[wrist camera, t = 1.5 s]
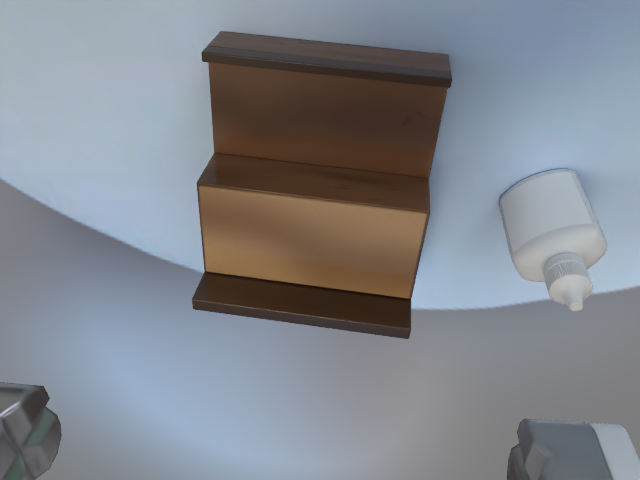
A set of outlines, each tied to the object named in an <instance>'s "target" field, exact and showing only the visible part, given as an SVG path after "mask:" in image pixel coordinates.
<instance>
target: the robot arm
mask: <svg viewBox="0 0 640 480" xmlns="http://www.w3.org/2000/svg"><path fill="white" fill-rule="evenodd" d="M48 401H49V396H48V394H47V392H46V390H45V388H44V386H37V385H27V384H26V385H25V384H16V383H5V382H0V480H35V479H36V478H38V477H39V476H41V475H42V474H43V473H45V472H46V471H47V470H49V469H50V467H51V465H52V463H53V461H54V459H55V457H56V455H57V453H58V449H59V445H60V440H61V424H60V422H59V419H58V416H57V415H56V414H55V413H54V412H52V411H51V410H50V409H48V408H47V407H46V404H47V402H48ZM517 434H518V439H519V444H518V445H517V446H515V447H513V448H512V449H511V452H510V456H509V459H508V470H507V480H640V461H639V458H638V456H637V454H636V451H635V449H634V447H633V445H632V442H631V440H630V437H629V435H628V433H627V431H626V430H625V429H624V428H623V427H622V426H621V425H614V424H597V423H596V424H595V423H585V422H579V421H560V420H541V419H523V420H522V421H521V422H520V425H519V428H518V430H517Z"/></svg>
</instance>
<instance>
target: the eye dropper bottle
mask: <svg viewBox="0 0 640 480" xmlns="http://www.w3.org/2000/svg"><path fill="white" fill-rule="evenodd" d="M499 207H500V211H501V216H502V220H503V225H504V229H505V234H506V238H507V243H508V247H509V251H510V255H511V259H512V261H513V264H514V266H515V268H516V270H517V271H518V273H519V275H520V276H521V277H522V278H523V279H525V280H529V281H536V282H546V285H547V289H548V292H549V295H550V297H551V298H552V299H553V300H554V301H556V302H558V303H560V304H567V305H568V306H569V307H570V309H571V310H572V311H578V310H581V309H582V308H583V300H584V299H586V298H587V297H588V296H589V295H590V294H591V292H592V289H593V284H592V281H591V278H590V276H589V273H588V270H587V269H588V268H589V267H591V266H592V265H593V264H595V263H596V262H597V261H598V260H599V259H600V258H601V257H602V256H603V255H604V254H605V252H606V251H607V243H606V240H605V237H604V235H603V232H602V230H601V228H600V225H599V223H598V221H597V219H596V216H595V214H594V212H593V210H592V207H591V205H590V203H589V201H588V199H587V196H586V194H585V192H584V190H583V187H582V185H581V183H580V181H579V179H578V177H577V175H576V173H575V172H574V171H572V170H569V169H557V170H550V171H545V172H541V173H538V174H535V175H532V176H530V177H528V178H526V179H524V180H522V181H520V182H518V183H517V184H515V185H514V186H512V187H511V188H510V189H509V190H507V191H506V192H505V193H504V194H503V195H502V196H501V198H500V200H499Z"/></svg>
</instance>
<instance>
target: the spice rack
mask: <svg viewBox="0 0 640 480" xmlns="http://www.w3.org/2000/svg"><path fill="white" fill-rule="evenodd" d="M202 61H203V62H208V63H209V78H210V93H211V109H212V124H213V139H214V152H215V153H214V155H213V156H212V158H211V160H210V161H209V163H208V165H207V166H206V168H205V170H204V171H203V173H202V175H201V177H200V178H199V180H198V182H197V191H198V203H199V214H200V225H201V236H202V247H203V258H204V269H205V272H204V274H203V276H202V279H201V281H200V283H199V285H198V287H197V289H196V292H195V294H194V296H193V298H192V303H193V309H196V310H204V311H210V312H218V313H225V314H232V315H239V316H246V317H254V318H260V319H269V320H275V321H282V322H289V323H296V324H304V325H311V326H318V327H325V328H333V329H340V330H347V331H354V332H361V333H368V334H375V335H383V336H390V337H398V338H404V339H408V338H409V336H410V331H411V298H412V293H413V288H414V284H415V279H416V275H417V270H418V266H419V261H420V256H421V252H422V247H423V243H424V238H425V233H426V229H427V224H428V220H429V215H430V195H429V175H430V171H431V166H432V161H433V156H434V151H435V146H436V142H437V137H438V132H439V127H440V122H441V118H442V113H443V108H444V103H445V98H446V93H447V89H448V88H450V87H451V82H452V76H451V70H450V63H449V56H448V55H445V54H435V53H426V52H416V51H406V50H397V49H387V48H377V47H368V46H358V45H348V44H338V43H329V42H319V41H309V40H300V39H290V38H280V37H270V36H261V35H251V34H241V33H232V32H222V31H221V32H220V33H219V34H218V35H217V36H216V37H215V38H214V39H213V40H212V42H211V43H210V44H209V45H208V46H207V47H206V48H205V49H204V50H203V51H202Z"/></svg>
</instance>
